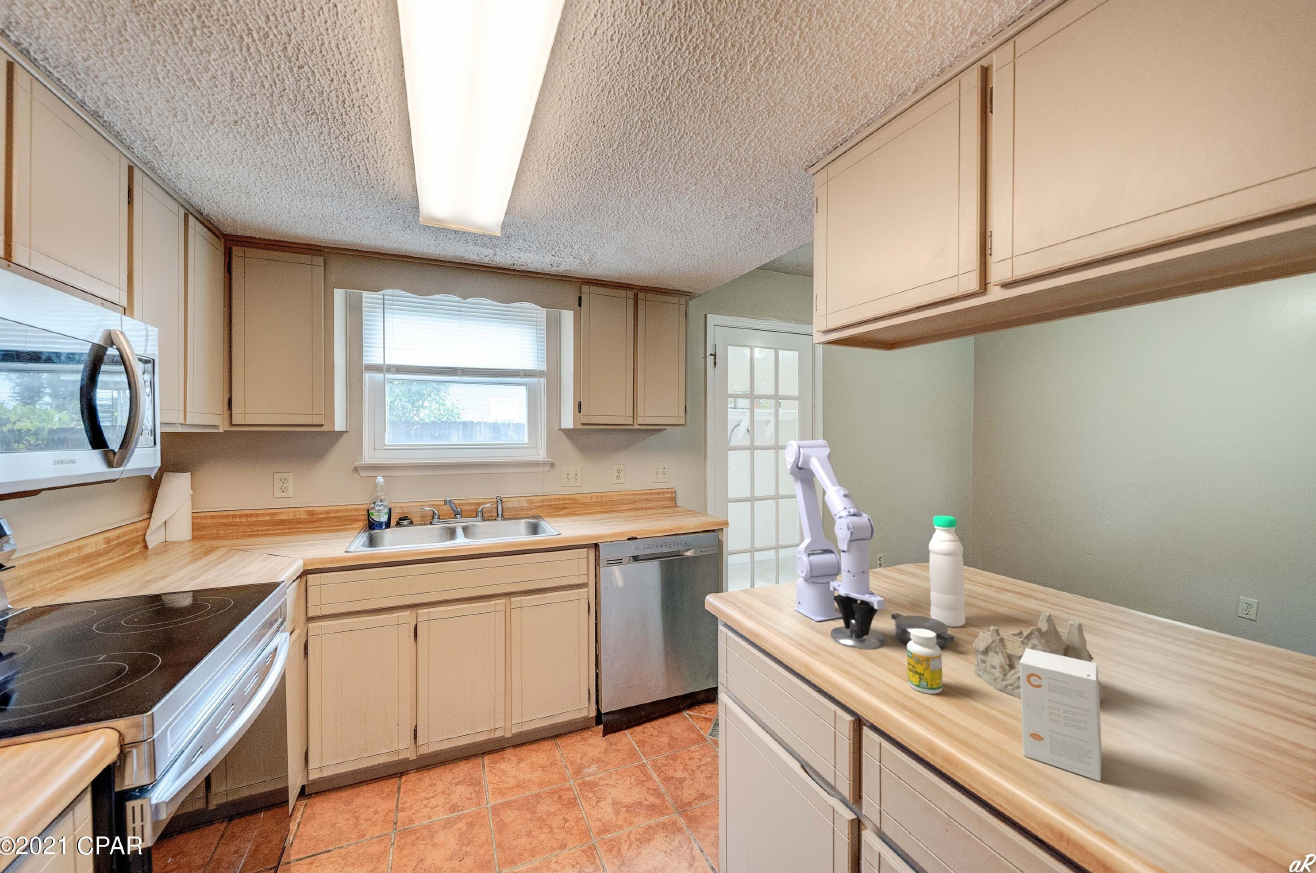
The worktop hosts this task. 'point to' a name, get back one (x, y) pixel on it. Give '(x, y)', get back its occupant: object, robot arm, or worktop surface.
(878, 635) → the lid
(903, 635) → the pot
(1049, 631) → the ceramic cottage
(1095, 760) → the small box
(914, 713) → the worktop surface
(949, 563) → the water bottle
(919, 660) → the supplement bottle
